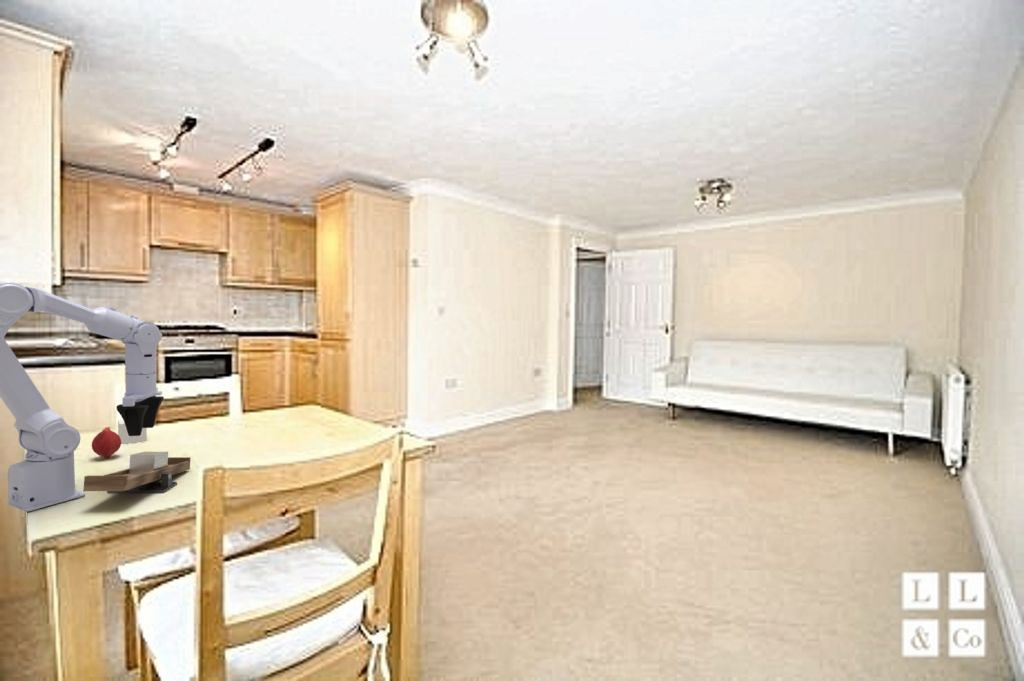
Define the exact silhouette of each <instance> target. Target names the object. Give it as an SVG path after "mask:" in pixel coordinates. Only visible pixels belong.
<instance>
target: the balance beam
mask: <svg viewBox="0 0 1024 681" xmlns="http://www.w3.org/2000/svg"><path fill="white" fill-rule="evenodd" d="M191 459H192V458H191V457H188V456H187V457H185V456H184V457H182V456H181V457H177V456H176V457H175V456H174V457H170V456H168V464H167V467H165V468H162V469H158V470H155V471H151V472H148V473H145V474H129V468H127V469H124V470H119V471H115V472H111V473H107V474H104V475H103V474H102V475H85V476H84V481H83V492H107V491H125V490H128V489H131V488H134V487H137V486H141V485H144V484H147V483H150V482H157V480H161V474H162V473H164V472H172V476H173V475H177V474H180V473H183V472H185V471H186V472H187V471H189V470H191Z"/></svg>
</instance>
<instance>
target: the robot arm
mask: <svg viewBox="0 0 1024 681" xmlns="http://www.w3.org/2000/svg"><path fill="white" fill-rule="evenodd" d="M116 310H117V308H116V307H113V306H109V305H108V306H105V307H104V306H98V307H96V308H89V307H86V306H84V305H81V304H79V303H76V302H73V301H70V299H69V300H68V299H67V298H63V297H61V296H58V295H56V294H53V293H50V292H47V291H45V290H42V289H39V288H35V287H30V286H23V285H21V284H19V283H17V282H11V281H10V282H8V281H7V282H0V399H1V401H3V403H4V404H5V406H6V408H7V409H8V410H9V412H10V413H11V414H12V415H13V417H14V418H15V421H14V428H16V431H17V433H18V443H19V445H20V446H21V448H23V449H24V450H26V454H25V457H24V458H25V459H23V460H22V461H20V462H16V463H12V464H11V465H10V466H9V467H8V471H7V491H8V492H7V495H8V501H7V502H6V505H8V506H11V507H13V508H17V509H19V510H20V511H21V510H22V511H24V512H31V511H36V510H38V509H42V508H45V507H50V506H53V505H57V504H59V503H64V502H67V501H71V500H74V499H78V498H81V497H85V496H86V493H85V492H84V491H83V492H82V491H79V490H76V480H75V479H76V474H75V473H76V472H75V451H76V450H77V449H78V447H79V446H80V443H81V434H80V432H79V429H76V428H75V427H73V426H71V425H69V424H68V423H66V421H65V420H64V418H63V417H62V416H60V414H58V413H57V412H55V410H53V409H52V408H51V407H50V406H49V404H48V403H47V401H46V400H45V398H44V397H43V395H42V394H41V392H40V390H39V389H38V387H37V386H36V385H35V383H34V382H33V380H32V378H31V377H30V375H29V374H28V372H27V371H26V370H25V368H24V367H23V365H22V364H21V362H20V361H19V359H18V357H17V356H16V354H15V353H14V351H13V350H12V348H11V347H10V346H9V344H8V342H7V341H6V339H5V337H6V335H7V333H8V332H9V330H10V328H11V327H12V325H13V324H15V323H16V322H17V321H18V320H20V319H21V318H22V317H23V316H25V314H27V312H29V313H37V312H39V313H40V312H43V313H47V314H51V315H53V316H54V315H55V316H58V317H60V318H61V317H62V318H66V319H69V320H73V321H75V322H80V323H83V324H84V325H85V327H86V329H87V330H88V331H89V333H90V332H91V333H94V334H98V335H100V336H104V337H107V338H110V339H113V340H117V341H120V342H121V343H122V344H124V346H125V347H124V352H125V353H124V357H125V358H124V359H125V360H124V363H125V367H124V368H125V369H124V370H125V371H124V372H125V373H124V374H125V392H124V397H122V403H121V404H118V405H116V411H117V412H118V414H119V415H120V416H121V419H122V420H124V423H125V426H126V429H127V432H128V435H129V436H140V435H141V432H142V428H146V429H152V428H154V427H155V423H156V419H157V415H158V412H159V410H160V406H161V404H162V403H163V401H164V399H165V398H164V397H165V396H161V395H163V391H161V390H160V391H159V390H158V389H159V388H158V386H157V351H158V350H157V349H158V348H157V347H158V344H160V342H161V341H162V338H163V333H161V332H160V329H159V327H158V326H157V325H156V324H155V323H153V322H151V321H141V320H139V317H138V316H136V315H130V316H129V315H128V314H127V315H126V314H125V313H122V312H119V311H116Z"/></svg>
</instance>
